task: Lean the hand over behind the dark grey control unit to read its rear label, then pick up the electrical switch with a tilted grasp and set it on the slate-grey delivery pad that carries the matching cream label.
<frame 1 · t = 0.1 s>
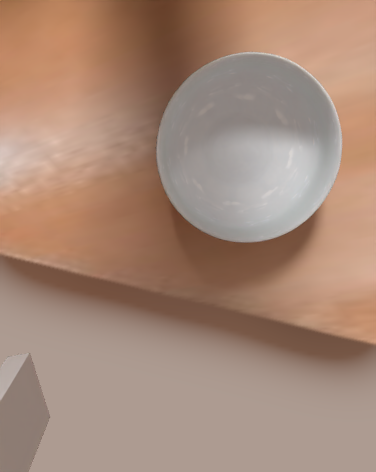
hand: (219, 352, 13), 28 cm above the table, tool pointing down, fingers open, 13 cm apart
cereal bowl: (235, 151, 39), on the table
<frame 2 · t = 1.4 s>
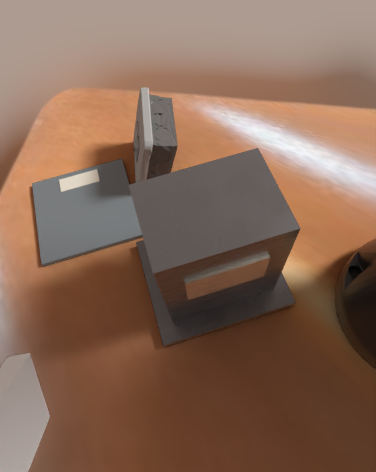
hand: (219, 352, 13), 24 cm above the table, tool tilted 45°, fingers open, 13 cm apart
control unit: (211, 274, 40), on the table
electrical switch: (155, 165, 47), on the table
pad: (86, 210, 45), on the table
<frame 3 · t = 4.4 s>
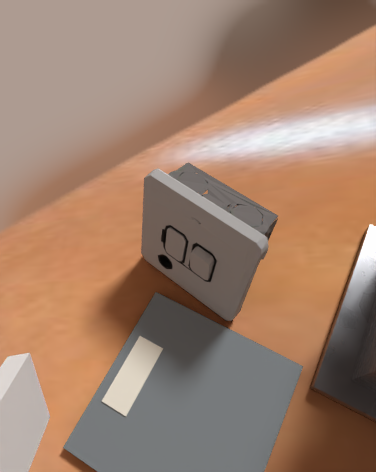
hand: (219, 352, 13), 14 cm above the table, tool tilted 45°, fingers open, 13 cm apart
electrical switch: (201, 265, 30), on the table
pad: (187, 406, 25), on the table
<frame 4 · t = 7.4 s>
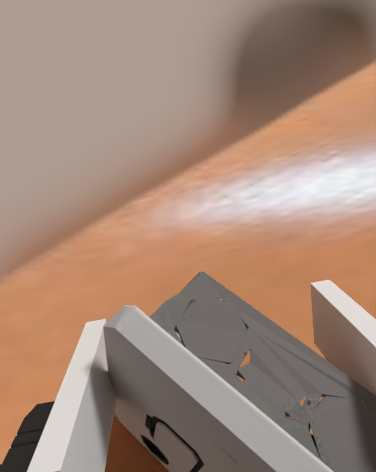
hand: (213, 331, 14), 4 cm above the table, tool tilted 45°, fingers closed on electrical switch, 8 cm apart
electrical switch: (223, 431, 16), on the table, touching gripper
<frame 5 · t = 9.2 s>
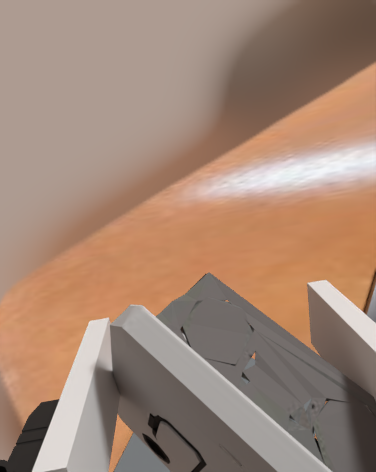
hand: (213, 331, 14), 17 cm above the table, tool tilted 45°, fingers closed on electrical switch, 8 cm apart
electrical switch: (224, 431, 17), point 12 cm above the table, touching gripper
pad: (222, 434, 27), on the table
when the fingers open (6 cm above the table, at t = 11.6 s): electrical switch drops 1 cm, resting on pad.
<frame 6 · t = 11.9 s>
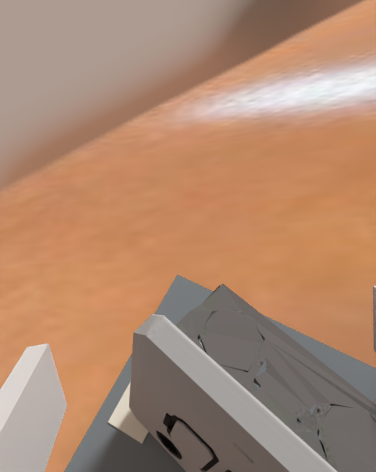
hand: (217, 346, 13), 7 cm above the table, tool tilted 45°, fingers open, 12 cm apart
electrical switch: (231, 430, 18), resting on pad
pad: (225, 428, 18), on the table
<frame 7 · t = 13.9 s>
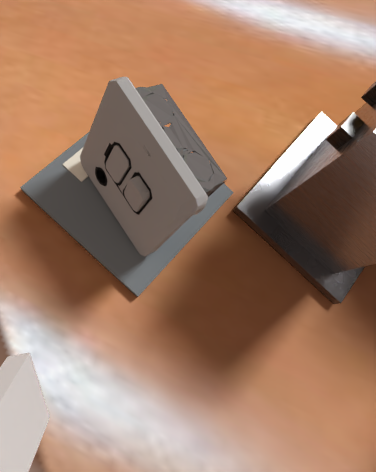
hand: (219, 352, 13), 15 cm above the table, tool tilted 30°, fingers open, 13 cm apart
control unit: (324, 204, 34), on the table
electrical switch: (137, 192, 29), resting on pad
pad: (133, 192, 29), on the table
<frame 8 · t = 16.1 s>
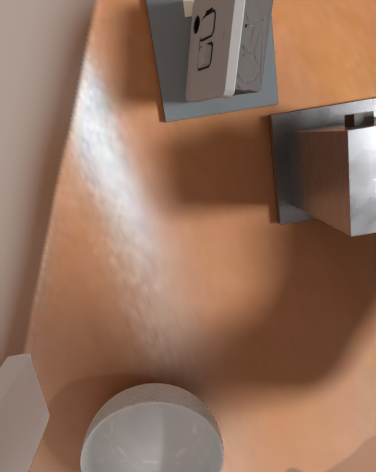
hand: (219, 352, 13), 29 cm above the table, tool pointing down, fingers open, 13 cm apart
control unit: (334, 161, 40), on the table
cereal bowl: (153, 416, 48), on the table
electrical switch: (215, 53, 36), resting on pad
pad: (214, 51, 36), on the table
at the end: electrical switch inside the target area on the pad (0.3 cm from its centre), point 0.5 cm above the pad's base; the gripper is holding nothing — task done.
